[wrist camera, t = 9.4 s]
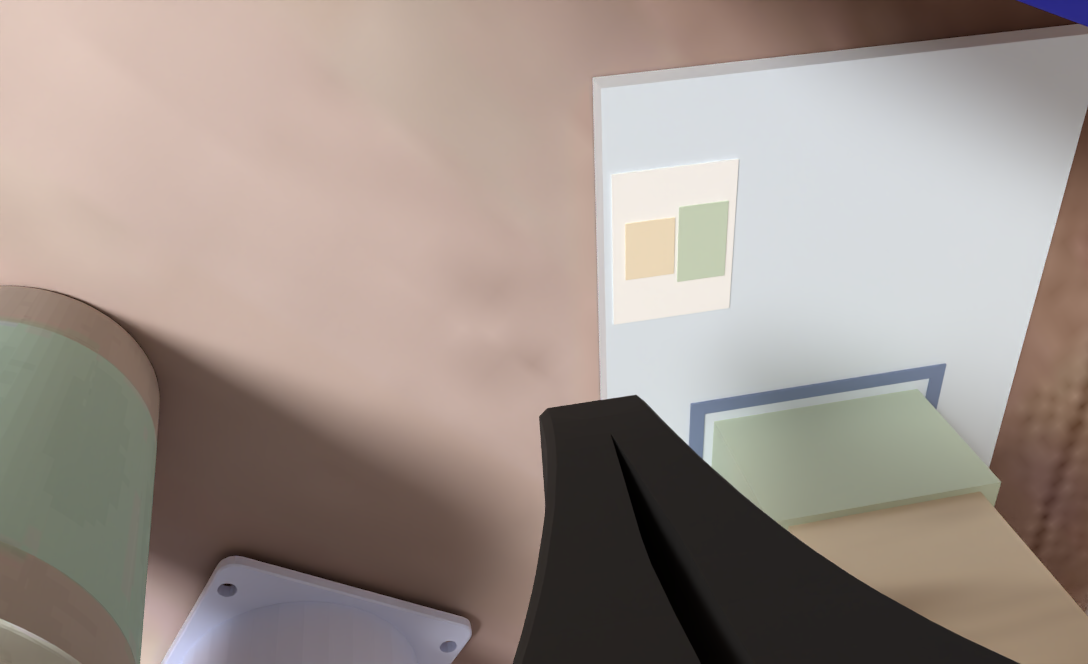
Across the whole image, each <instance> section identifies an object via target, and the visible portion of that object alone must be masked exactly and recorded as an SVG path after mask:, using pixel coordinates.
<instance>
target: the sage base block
mask: <svg viewBox="0 0 1088 664" xmlns="http://www.w3.org/2000/svg"><path fill="white" fill-rule="evenodd" d="M711 467H712V468H713V469H714V470H715V471H716V472H718V473H719V474H720V475H721V476H722V477H723V478H724V479H726V480H727V481H728V482H729V483H730V484H731V485H732V486H733V487H735V488H736V489H737V490H738V491H739V492H740V493H741V494H743V495H744V496H745V497H746V498H747V499H749V500H750V501H751V502H752V503H753V504H755V505H756V506H757V507H758V508H759V509H761V510H762V511H763V512H764V513H766V514H767V515H768V516H770V517H771V518H772V519H773V520H775V521H776V522H777V523H778V524H780V525H781V526H782V527H784V528H785V529H786V530H787V531H788V526H794V525H799V524H805V523H810V522H816V521H821V520H826V519H832V518H837V517H843V516H848V515H854V514H859V513H865V512H870V511H876V510H881V509H887V508H892V507H898V506H903V505H909V504H914V503H920V502H925V501H931V500H936V499H942V498H947V497H952V496H958V495H963V494H969V493H974V492H981V493H982V494H983V495H984V496H985V497H986V498H987V500H988V501H989V502H990V503H991V504H992V505H993V507H994V506H995V502H996V499H997V495H998V492H999V488H1000V485H1001V481H1000V480H999V479H998V478H997V477H996V476H995V475H994V473H993V472H992V471H991V470H990V469H989V468H988V467H987V466H986V464H985V463H984V462H983V461H982V460H981V459H980V458H979V457H978V456H977V454H976V453H975V452H974V451H973V450H972V449H971V448H970V447H969V446H968V444H967V443H966V442H965V441H964V440H963V439H962V438H961V437H960V436H959V434H958V433H957V432H956V431H955V430H954V429H953V428H952V427H951V426H950V424H949V423H948V422H947V421H946V420H945V419H944V418H943V417H942V416H941V414H940V413H939V412H938V411H937V410H936V409H935V408H934V407H933V406H932V404H931V403H930V402H929V401H928V400H927V399H926V398H925V397H924V396H923V394H922V393H921V392H920V391H919V390H918V389H913V390H907V391H901V392H895V393H888V394H882V395H876V396H870V397H863V398H857V399H851V400H845V401H838V402H832V403H826V404H820V405H814V406H807V407H801V408H795V409H789V410H782V411H776V412H770V413H764V414H757V415H751V416H745V417H739V418H732V419H726V420H720V421H714V432H713V449H712V466H711Z"/></svg>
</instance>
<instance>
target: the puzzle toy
mask: <svg viewBox="0 0 1088 664" xmlns="http://www.w3.org/2000/svg"><path fill="white" fill-rule="evenodd" d="M1017 1H1020V2H1022V3H1025V4H1028V5H1030V6H1033V7H1036V8H1038V9H1041V10H1044V11H1046V12H1049V13H1052V14H1055V15H1057V16H1060V17H1063V18H1065V19H1068V20H1071V21H1073V22H1076V23H1079V24H1081V25H1084V26H1087V27H1088V0H1017Z"/></svg>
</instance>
